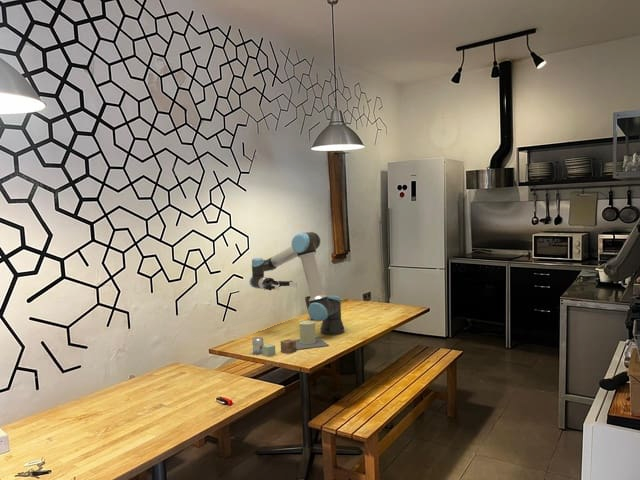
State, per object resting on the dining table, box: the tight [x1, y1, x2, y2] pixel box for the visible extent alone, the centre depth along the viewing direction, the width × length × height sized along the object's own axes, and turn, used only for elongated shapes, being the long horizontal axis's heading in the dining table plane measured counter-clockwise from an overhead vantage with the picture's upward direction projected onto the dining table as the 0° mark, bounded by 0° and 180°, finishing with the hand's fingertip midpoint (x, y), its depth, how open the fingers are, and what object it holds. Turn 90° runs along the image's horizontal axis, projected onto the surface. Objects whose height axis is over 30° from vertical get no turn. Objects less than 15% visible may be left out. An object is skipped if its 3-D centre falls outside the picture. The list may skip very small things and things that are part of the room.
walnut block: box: [280, 338, 297, 355], centre depth 258 cm, size 6×6×6 cm
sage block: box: [261, 343, 277, 357], centre depth 254 cm, size 5×5×5 cm
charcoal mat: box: [294, 336, 330, 351], centre depth 272 cm, size 20×20×1 cm
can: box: [299, 320, 316, 344], centre depth 274 cm, size 9×9×12 cm
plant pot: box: [304, 295, 314, 321], centre depth 336 cm, size 15×15×16 cm
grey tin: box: [251, 336, 265, 356], centre depth 258 cm, size 6×6×8 cm
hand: (287, 286), depth 283 cm, fingers open, 13 cm apart
